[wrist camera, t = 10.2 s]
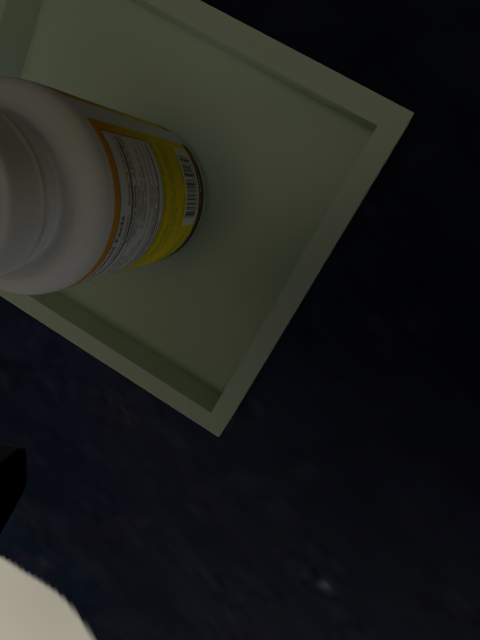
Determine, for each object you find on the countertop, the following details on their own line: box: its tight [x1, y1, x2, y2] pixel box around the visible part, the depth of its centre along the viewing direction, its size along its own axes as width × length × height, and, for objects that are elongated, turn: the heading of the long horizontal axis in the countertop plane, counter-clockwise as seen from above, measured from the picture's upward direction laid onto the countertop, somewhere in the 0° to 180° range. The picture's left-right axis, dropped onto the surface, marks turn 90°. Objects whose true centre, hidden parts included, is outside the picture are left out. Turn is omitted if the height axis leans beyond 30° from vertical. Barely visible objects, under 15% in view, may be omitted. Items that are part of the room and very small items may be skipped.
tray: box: [0, 0, 414, 437], centre depth 19 cm, size 16×14×2 cm
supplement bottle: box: [0, 77, 205, 295], centre depth 14 cm, size 6×6×10 cm
